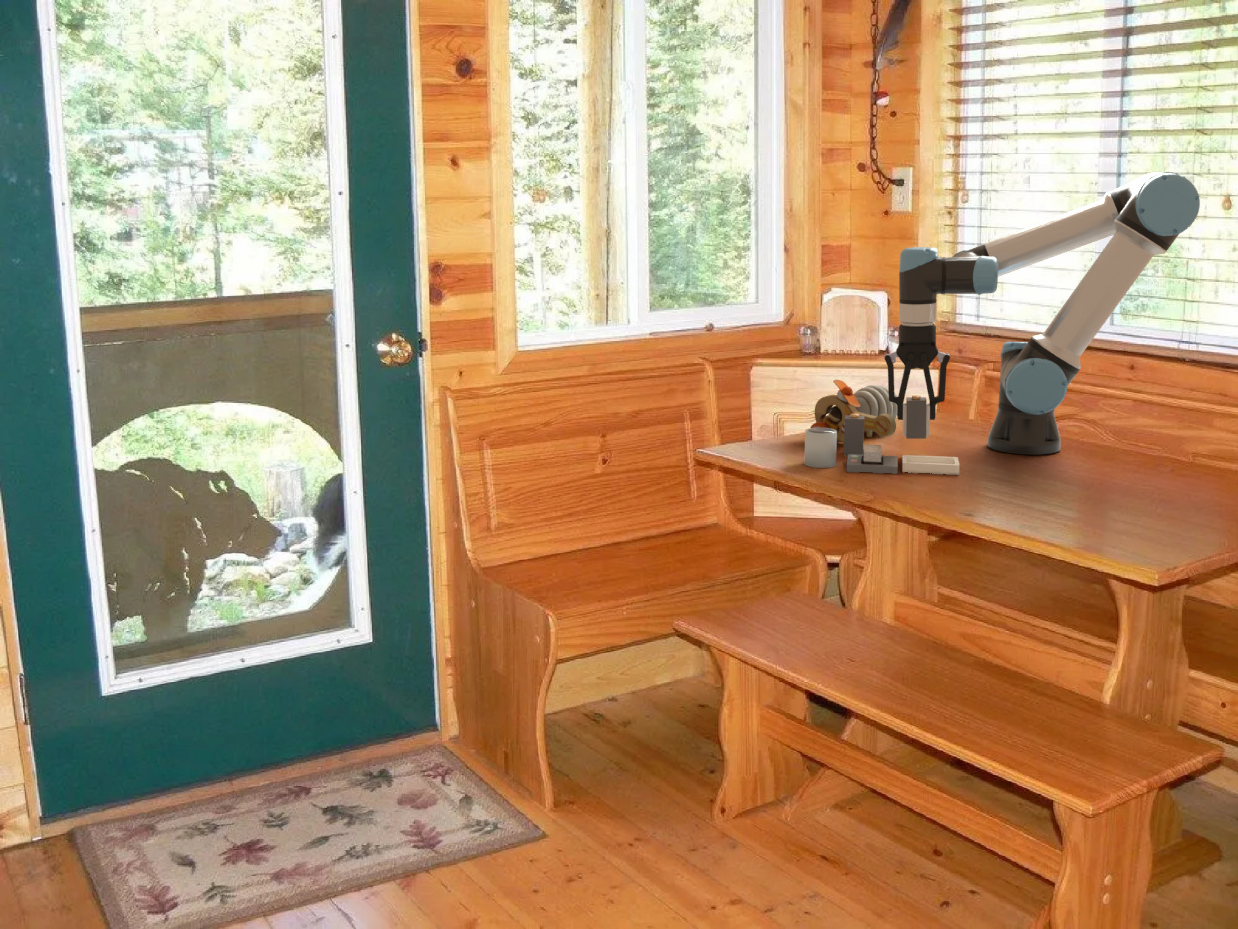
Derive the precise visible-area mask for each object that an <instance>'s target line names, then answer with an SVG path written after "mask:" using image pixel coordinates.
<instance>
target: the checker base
mask: <svg viewBox="0 0 1238 929" xmlns="http://www.w3.org/2000/svg"><path fill="white" fill-rule="evenodd" d="M898 461H899V460H898V455H882V454H881V462H870V461H864V454H863V455H858V454H848V456H847V460H846V473H859V472H873V473H872V474H884V473H892V474H891V475H898V470H899V466H898V464H899V463H898ZM861 462H864V463H861ZM879 463H883V464H879Z"/></svg>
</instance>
